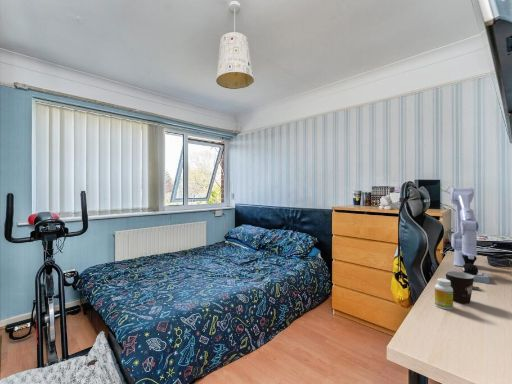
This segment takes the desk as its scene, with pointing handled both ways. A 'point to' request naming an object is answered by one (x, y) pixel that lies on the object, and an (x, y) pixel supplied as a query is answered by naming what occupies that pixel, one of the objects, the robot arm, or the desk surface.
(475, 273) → the billiard ball
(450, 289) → the supplement bottle
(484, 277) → the corral
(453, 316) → the desk surface
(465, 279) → the coffee mug
